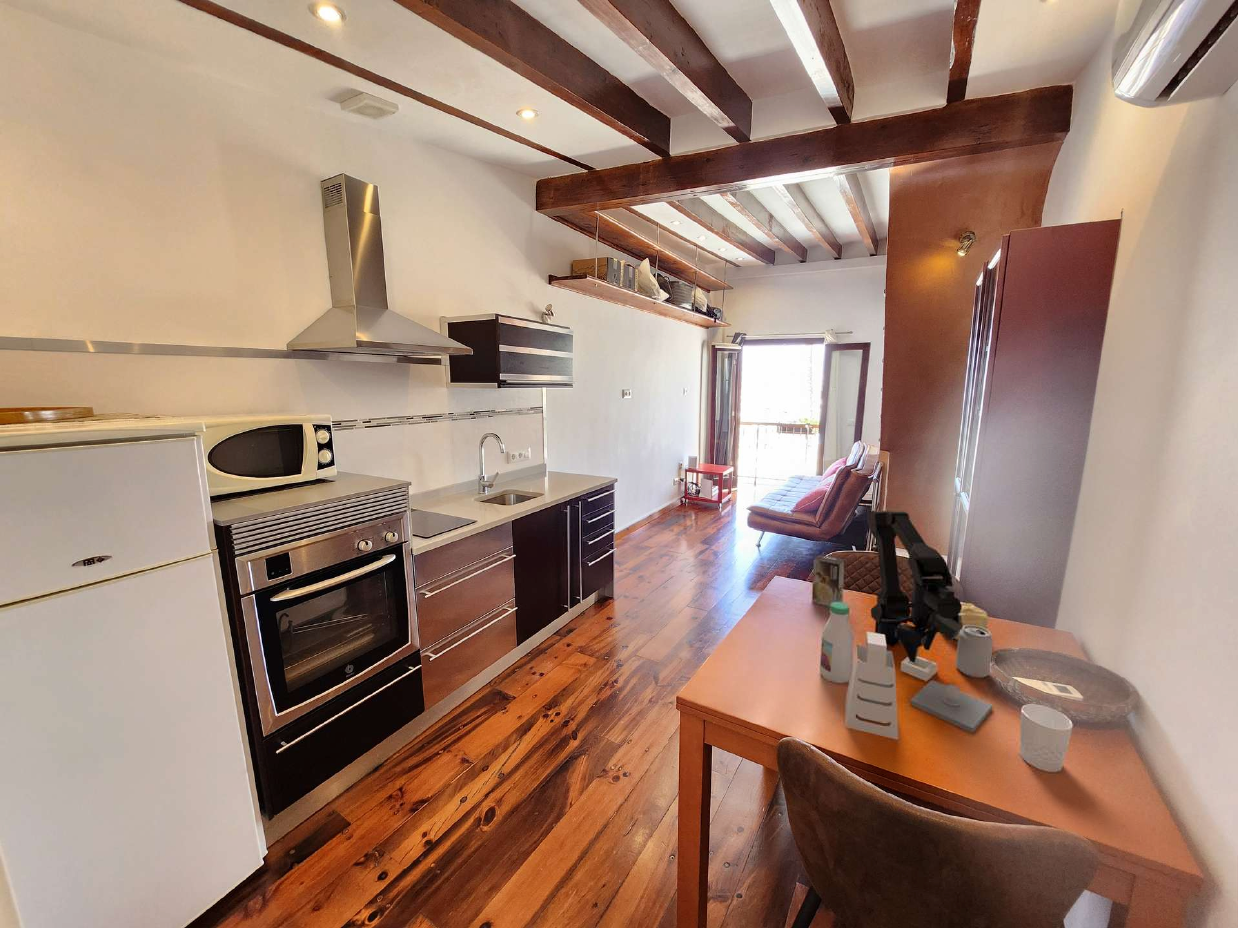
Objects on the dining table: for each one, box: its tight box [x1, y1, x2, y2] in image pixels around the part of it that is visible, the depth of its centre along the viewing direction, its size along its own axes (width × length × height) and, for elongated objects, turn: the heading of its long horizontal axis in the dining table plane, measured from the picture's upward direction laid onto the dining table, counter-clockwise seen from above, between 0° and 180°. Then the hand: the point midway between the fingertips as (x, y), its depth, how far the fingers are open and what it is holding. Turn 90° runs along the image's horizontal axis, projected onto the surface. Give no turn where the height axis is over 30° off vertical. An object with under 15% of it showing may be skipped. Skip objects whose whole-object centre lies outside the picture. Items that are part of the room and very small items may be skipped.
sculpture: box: [953, 601, 990, 641], centre depth 152 cm, size 12×12×11 cm
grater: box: [845, 631, 899, 741], centre depth 114 cm, size 10×10×20 cm
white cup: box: [1019, 703, 1073, 773], centre depth 102 cm, size 8×8×10 cm
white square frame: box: [900, 655, 938, 682], centre depth 134 cm, size 6×6×2 cm
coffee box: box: [811, 554, 846, 608], centre depth 175 cm, size 9×6×16 cm
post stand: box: [909, 679, 994, 734], centre depth 119 cm, size 13×13×5 cm
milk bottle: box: [819, 602, 855, 684], centre depth 131 cm, size 8×8×20 cm
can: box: [955, 625, 994, 679], centre depth 133 cm, size 8×8×12 cm
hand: (919, 655), depth 134 cm, fingers open, 9 cm apart
